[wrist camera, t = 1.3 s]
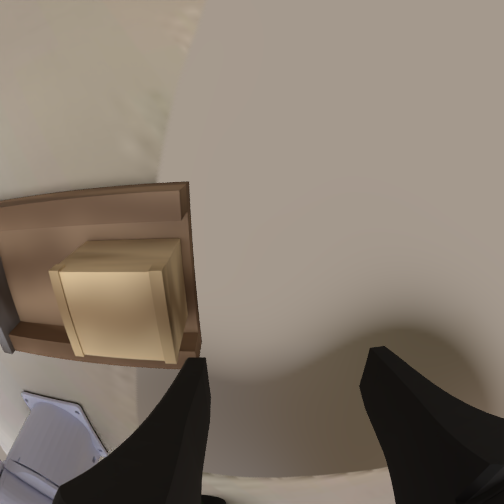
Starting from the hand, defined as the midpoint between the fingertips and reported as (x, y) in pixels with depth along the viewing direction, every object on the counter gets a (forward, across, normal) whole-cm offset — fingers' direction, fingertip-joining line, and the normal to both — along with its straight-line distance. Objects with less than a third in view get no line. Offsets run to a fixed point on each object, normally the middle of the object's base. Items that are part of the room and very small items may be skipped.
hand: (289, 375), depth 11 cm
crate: (+8, +8, 0) cm, 11 cm away
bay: (+9, +12, 0) cm, 16 cm away
